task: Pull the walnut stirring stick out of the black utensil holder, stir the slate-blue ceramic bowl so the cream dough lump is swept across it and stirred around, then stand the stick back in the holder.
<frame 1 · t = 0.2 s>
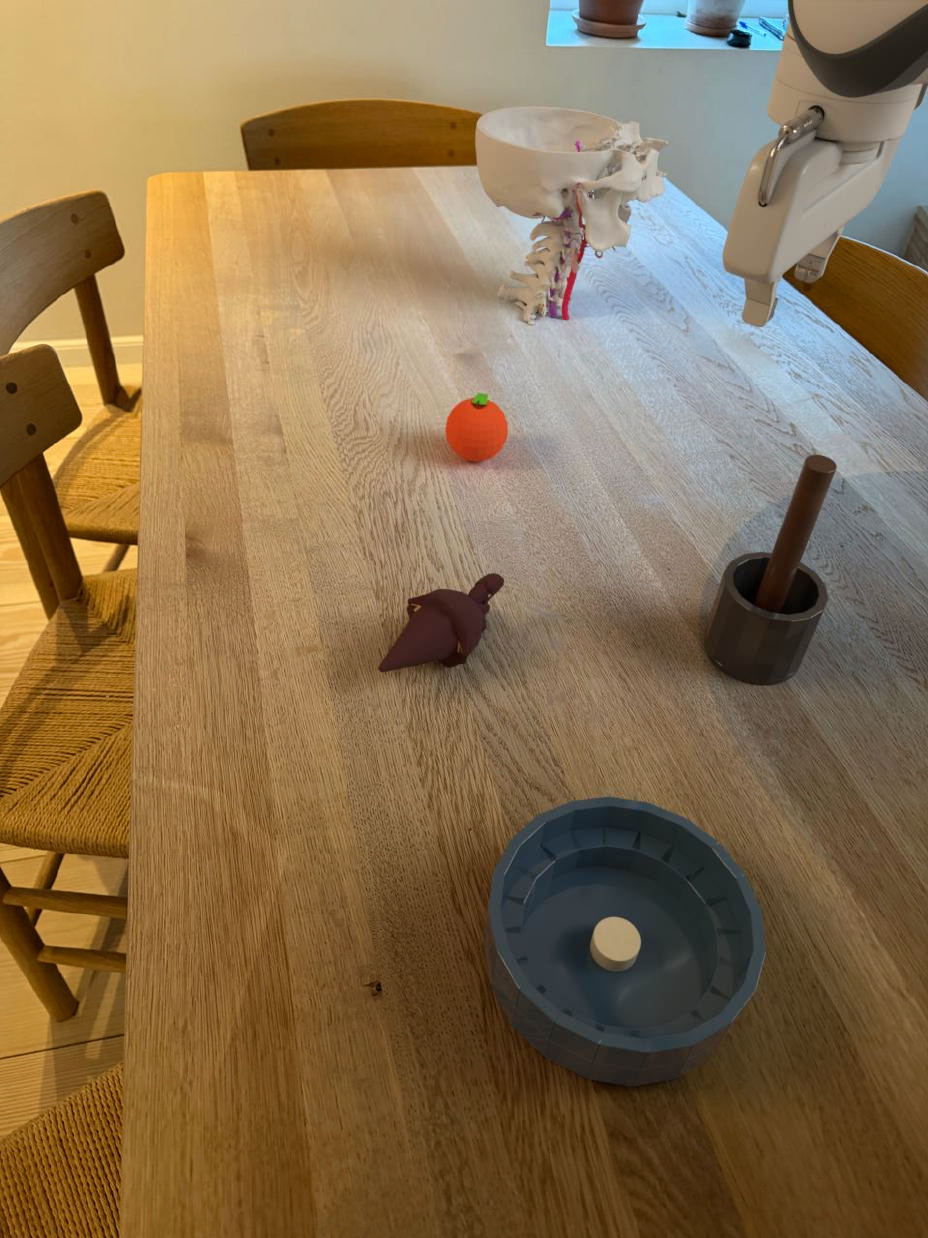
hand: (782, 299, 70), 31 cm above the table, tool pointing down, fingers open, 8 cm apart
dough: (613, 949, 65), point 1 cm above the table, touching bowl
clementine: (475, 454, 108), on the table
stick: (753, 645, 87), point 1 cm above the table, touching holder
holder: (751, 649, 88), on the table
icecream: (440, 656, 85), on the table
skull: (553, 303, 137), on the table
bowl: (611, 955, 66), on the table
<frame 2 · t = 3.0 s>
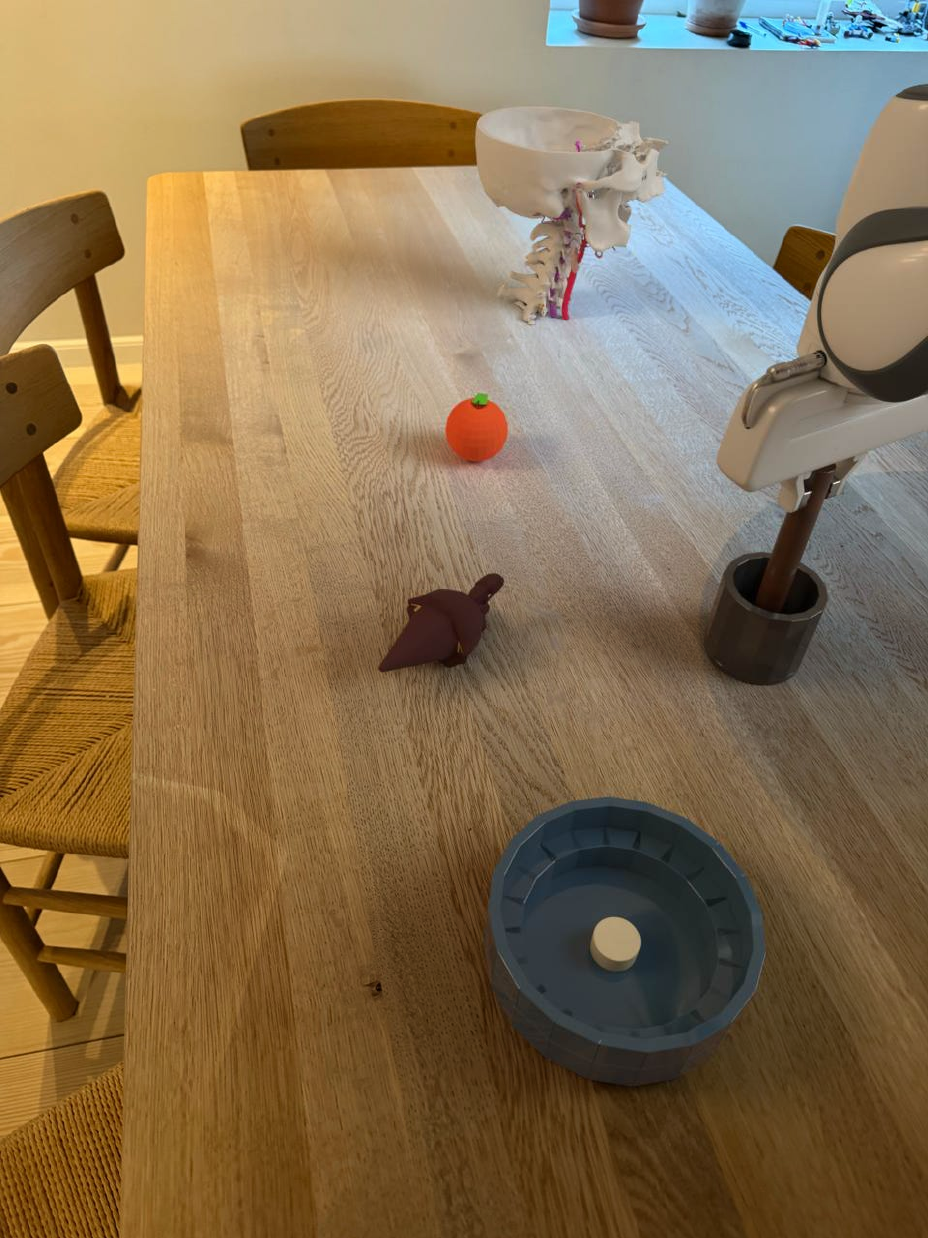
hand: (807, 499, 76), 17 cm above the table, tool pointing down, fingers closed on stick, 2 cm apart
stick: (753, 645, 87), point 1 cm above the table, touching gripper, holder
everything else where it was.
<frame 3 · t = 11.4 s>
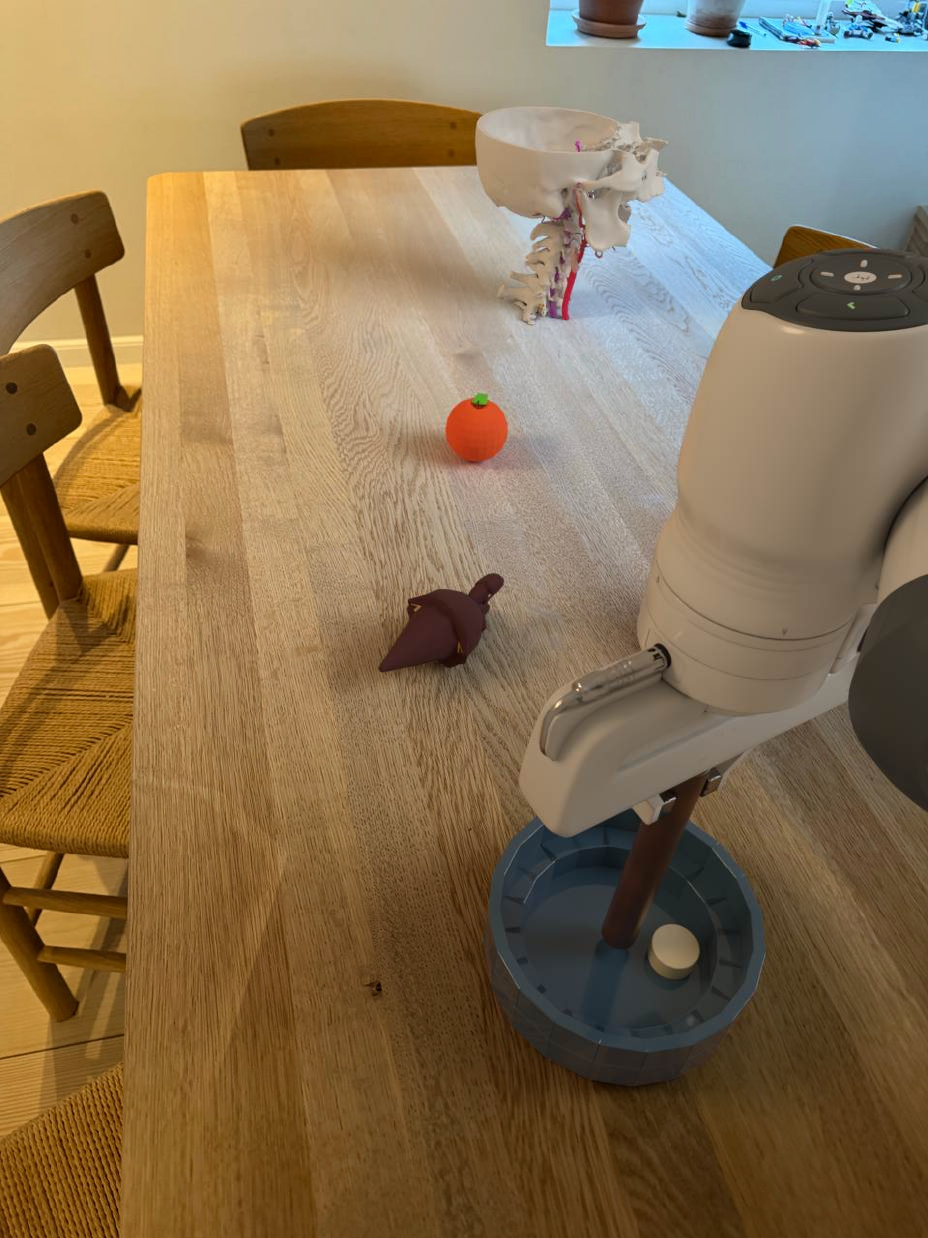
hand: (676, 797, 53), 19 cm above the table, tool pointing down, fingers closed on stick, 2 cm apart
dough: (670, 957, 65), point 1 cm above the table, touching bowl
stick: (618, 933, 64), point 2 cm above the table, touching gripper
everything else where it was.
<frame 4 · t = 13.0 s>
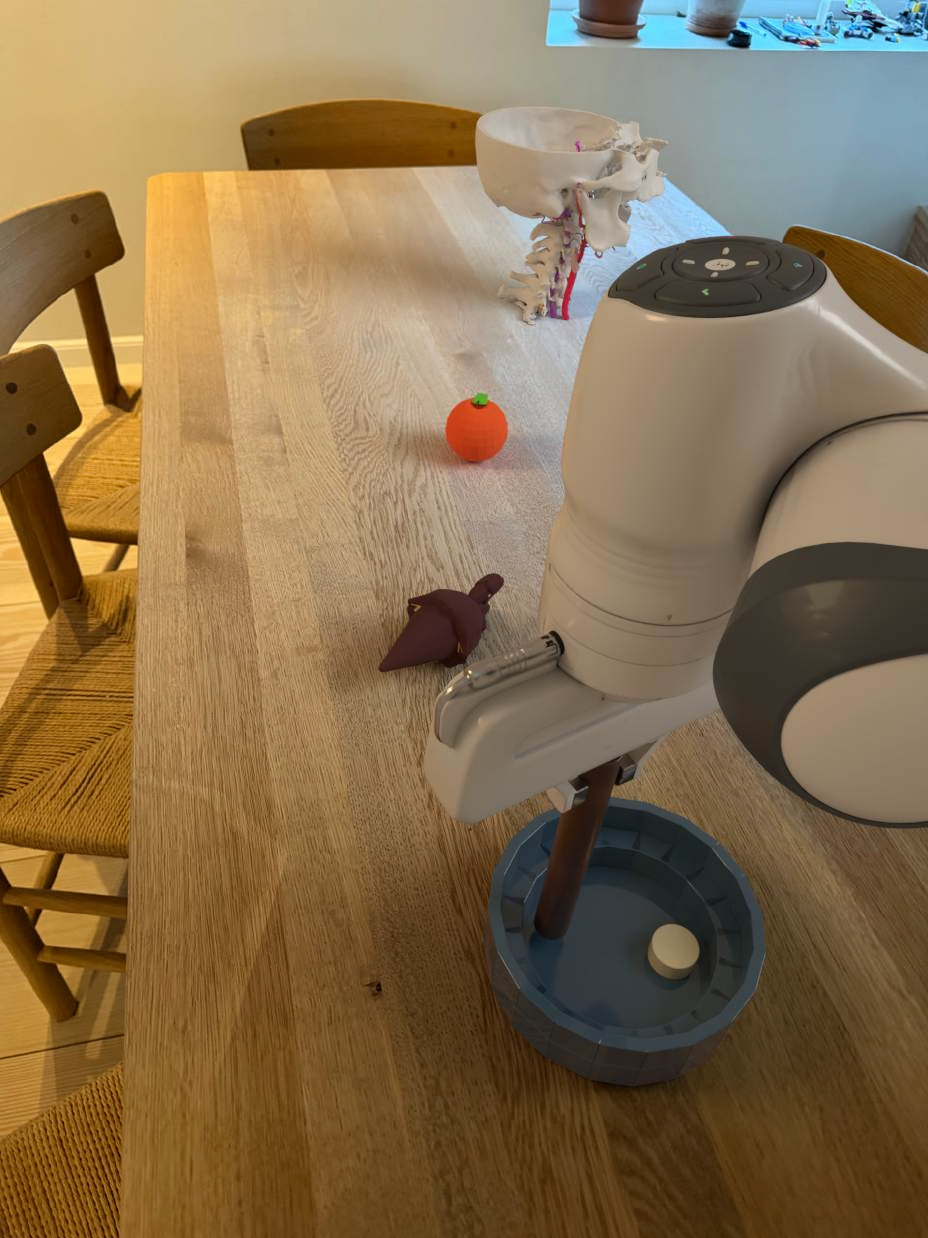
hand: (592, 786, 53), 18 cm above the table, tool pointing down, fingers closed on stick, 2 cm apart
stick: (551, 924, 65), point 2 cm above the table, touching gripper
everything else where it was.
when the fingers open (17 cm above the table, at t = 22.9 s): stick stays where it is, resting on holder.
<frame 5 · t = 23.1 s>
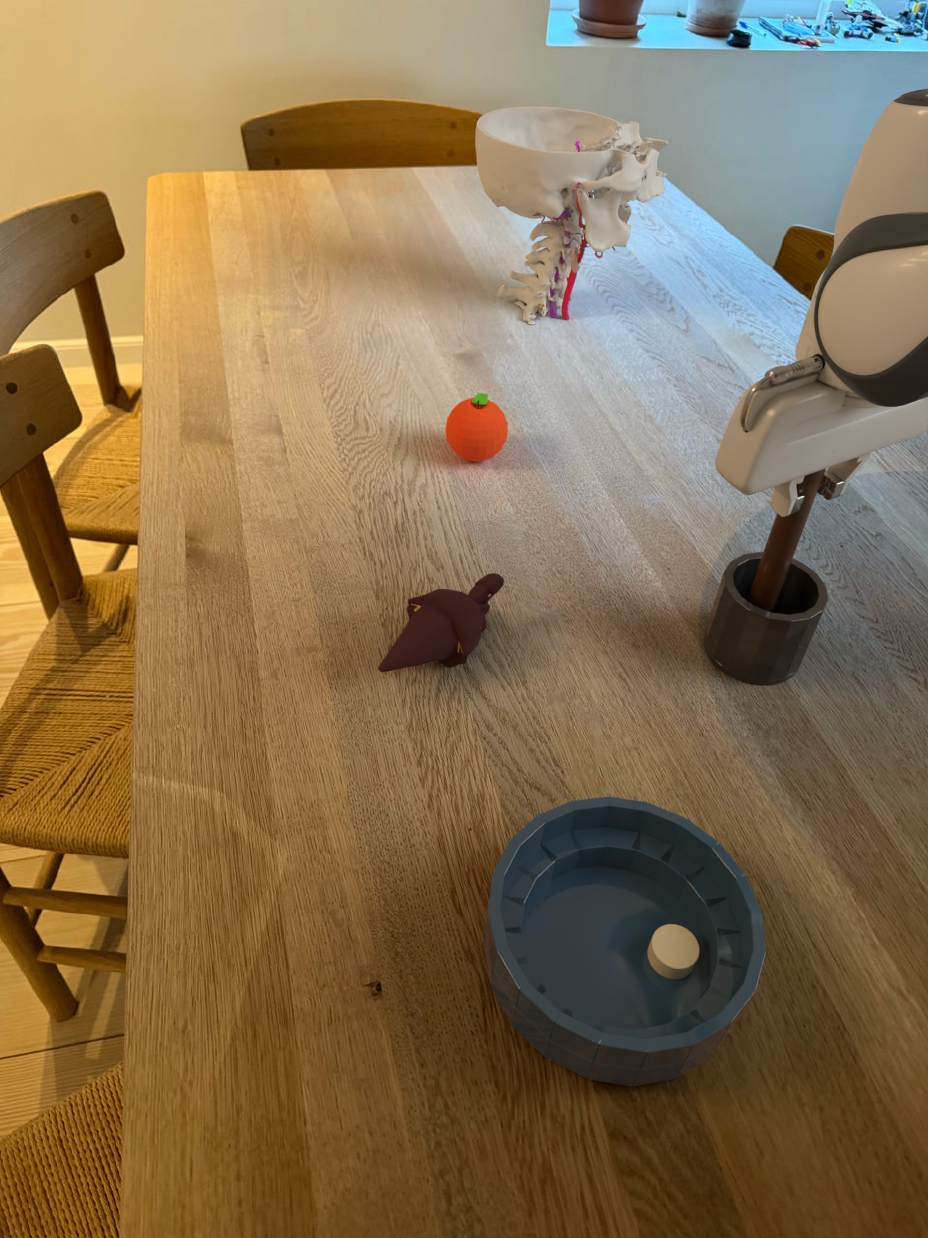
hand: (806, 502, 76), 17 cm above the table, tool pointing down, fingers open, 3 cm apart
stick: (747, 640, 88), point 1 cm above the table, touching holder
everything else where it was.
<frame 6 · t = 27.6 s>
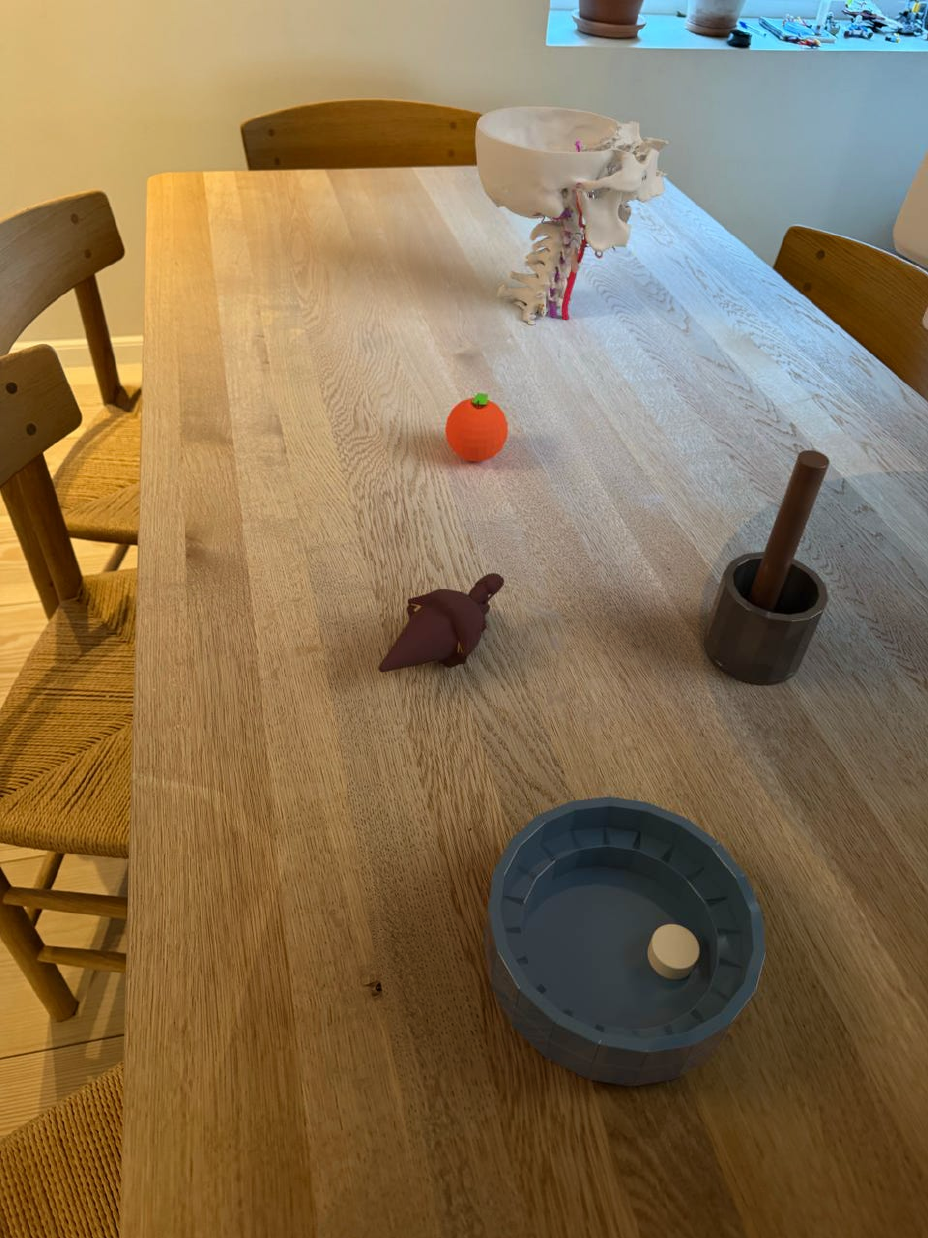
nothing on the table moved.
at the end: dough moved 3.9 cm from its start; stick inside the target area in the holder (0.7 cm from its centre), point 0.6 cm above the holder's base; the gripper is holding nothing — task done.
